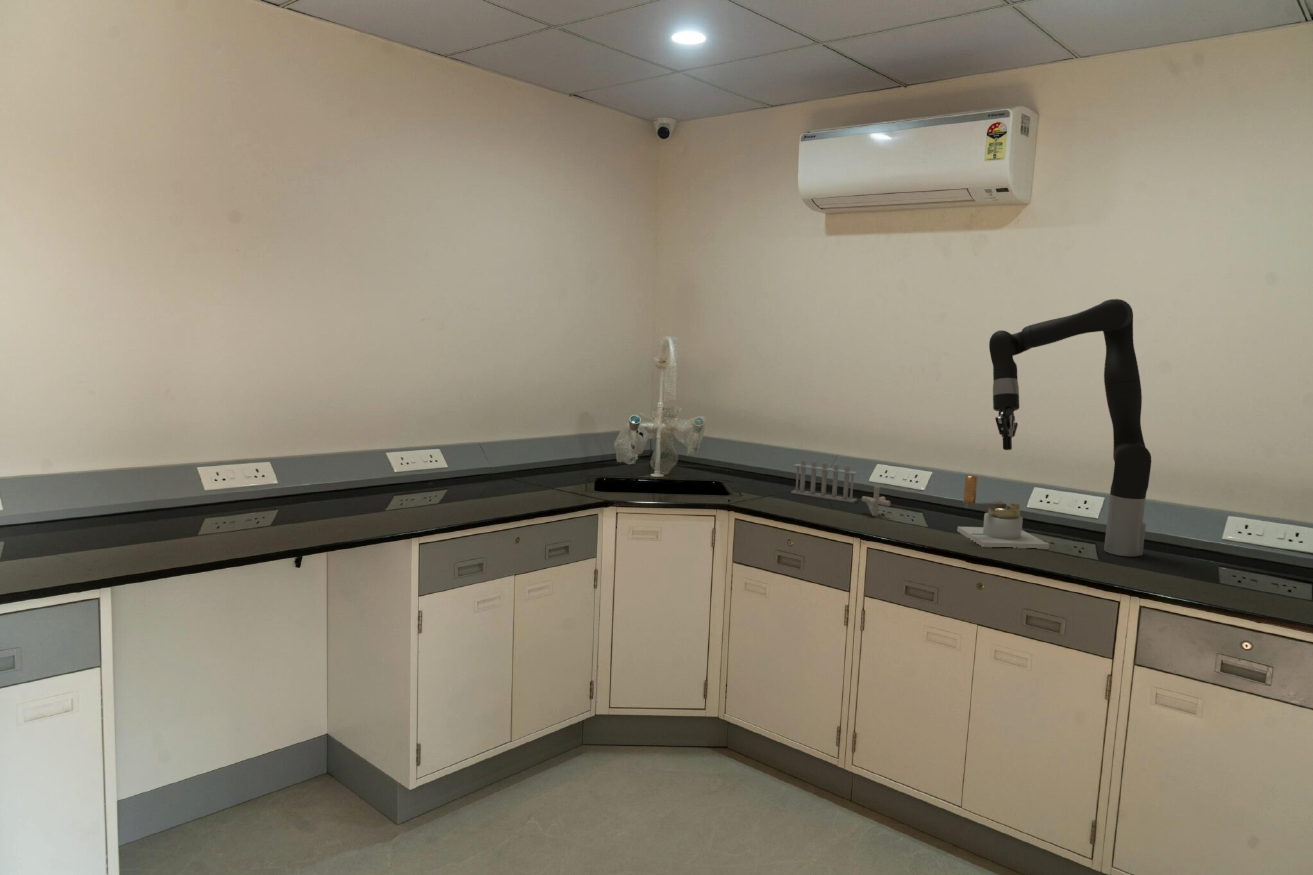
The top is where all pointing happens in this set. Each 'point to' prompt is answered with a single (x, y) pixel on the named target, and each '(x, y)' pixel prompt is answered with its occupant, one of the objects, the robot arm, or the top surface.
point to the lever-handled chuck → (994, 507)
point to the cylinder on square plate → (1002, 534)
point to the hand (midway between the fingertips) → (1007, 449)
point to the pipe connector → (876, 501)
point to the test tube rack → (824, 480)
